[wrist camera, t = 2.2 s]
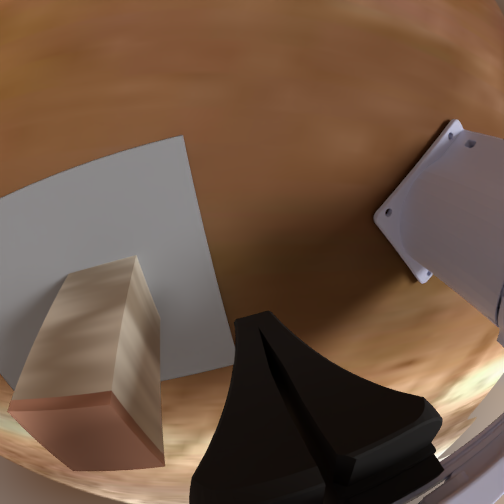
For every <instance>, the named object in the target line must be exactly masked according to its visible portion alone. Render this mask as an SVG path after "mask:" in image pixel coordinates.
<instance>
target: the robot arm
mask: <svg viewBox="0 0 504 504" xmlns="http://www.w3.org/2000/svg"><path fill="white" fill-rule="evenodd" d="M448 134H449V137H448ZM387 209H388V213H387V214H386V215H385V212H386V210H387ZM374 222H375V224H376V225H377V226H378V228H379V229H380V230H381V231H382V233H383V234H384V235H385V236H386V238H387V239H388V240H389V242H390V243H391V244H392V246H393V247H394V248H395V250H396V251H397V252H398V254H399V255H400V256H401V258H402V259H403V260H404V262H405V263H406V264H407V266H408V267H409V269H410V270H411V271H412V273H413V274H414V276H415V277H416V278H417V280H418V281H419V282H420V283H422V284H423V283H425V282H427V281H428V279H429V278H430V277H431V276H432V275H435V276H436V277H437V278H439V279H440V280H441V281H443V282H444V283H445V284H446V285H448V286H449V287H450V288H451V289H453V290H454V291H455V292H456V293H458V294H459V295H460V296H461V297H463V298H464V299H465V300H466V301H468V302H469V303H470V304H471V305H472V306H474V307H475V308H476V309H477V310H478V311H480V312H481V313H482V314H483V315H484V316H486V317H487V318H488V319H489V320H490V321H491V322H492V323H494V324H495V325H496V326H497V327H499V329H500V332H499V335H498V338H497V341H498V342H499V343H500V344H501V345H502V346H503V347H504V139H501V138H497V137H493V136H489V135H485V134H481V133H477V132H472V131H468V130H464V129H463V127H462V125H461V123H460V122H459V120H456V119H452V120H451V121H450V122H449V124H448V125H447V126H446V127H445V129H444V130H443V131H442V133H441V134H440V135H439V137H438V138H437V139H436V140H435V142H434V143H433V144H432V145H431V147H430V148H429V149H428V150H427V152H426V153H425V154H424V155H423V157H422V158H421V159H420V160H419V162H418V163H417V164H416V165H415V166H414V168H413V169H412V170H411V171H410V172H409V174H408V175H407V176H406V177H405V178H404V180H403V181H402V182H401V183H400V184H399V186H398V187H397V188H396V189H395V190H394V191H393V193H392V194H391V195H390V196H389V197H388V198H387V200H386V201H385V202H384V203H383V204H382V205H381V207H380V208H379V209H378V210H377V211H376V213H375V214H374ZM234 325H235V333H236V344H235V357H234V365H233V371H232V377H231V382H230V387H229V391H228V395H227V399H226V402H225V406H224V409H223V412H222V415H221V418H220V421H219V423H218V426H217V429H216V431H215V433H214V435H213V438H212V440H211V442H210V444H209V447H208V449H207V451H206V453H205V455H204V457H203V458H202V460H201V462H200V464H199V466H198V467H197V469H196V471H195V473H194V474H193V476H192V480H191V486H190V495H189V504H406V503H408V502H410V501H412V500H413V499H415V498H417V497H419V496H420V495H422V494H424V493H425V492H427V491H428V490H430V489H431V488H433V487H435V486H436V485H438V484H439V483H440V482H442V481H444V480H445V479H446V480H445V482H444V484H442V485H441V486H439V487H438V488H437V489H435V490H434V491H432V492H431V493H429V494H428V495H426V496H425V497H424V498H423V499H422V500H421V501H420V502H419V503H418V504H494V503H495V502H496V501H497V500H498V499H499V498H500V497H501V496H502V495H503V494H504V413H503V414H502V415H500V416H499V417H498V418H497V419H496V420H495V421H494V422H492V423H491V424H490V425H489V426H488V427H487V428H485V429H484V430H483V431H482V432H480V433H479V434H478V435H477V436H475V437H474V438H473V439H472V440H470V441H469V442H468V443H466V444H465V445H464V446H462V447H461V448H459V449H458V450H457V451H455V452H454V453H452V454H451V455H450V456H448V457H447V458H445V459H444V460H442V461H441V462H439V461H438V459H437V458H436V456H435V455H434V453H435V452H436V449H435V447H434V446H433V444H432V443H431V442H432V440H433V439H434V437H435V436H436V434H437V433H438V431H439V430H440V428H441V425H442V417H441V416H440V415H439V413H438V412H437V411H436V409H435V408H434V407H433V406H432V405H431V404H430V403H429V402H428V401H427V400H426V399H425V398H424V397H420V396H416V395H412V394H407V393H403V392H399V391H396V390H392V389H389V388H386V387H383V386H381V385H378V384H376V383H373V382H371V381H368V380H366V379H364V378H361V377H359V376H357V375H355V374H353V373H351V372H349V371H347V370H345V369H343V368H341V367H340V366H338V365H336V364H334V363H333V362H331V361H329V360H328V359H326V358H325V357H323V356H322V355H320V354H319V353H317V352H316V351H315V350H313V349H312V348H311V347H309V346H308V345H307V344H305V343H304V342H303V341H302V340H300V339H299V338H298V337H297V336H296V335H294V334H293V333H292V332H291V331H290V330H289V329H288V328H287V327H286V326H284V325H283V324H282V323H281V322H280V321H279V320H278V319H277V317H276V316H275V315H274V314H273V313H272V312H270V311H265V312H261V313H258V314H254V315H251V316H247V317H243V318H239V319H236V320H235V322H234Z"/></svg>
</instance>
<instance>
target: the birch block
mask: <svg viewBox="0 0 504 504" xmlns="http://www.w3.org/2000/svg"><path fill="white" fill-rule="evenodd" d="M160 320H161V318H160V316H159V313H158V311H157V308H156V306H155V303H154V301H153V298H152V296H151V293H150V291H149V288H148V285H147V283H146V280H145V277H144V275H143V272H142V269H141V267H140V264H139V261H138V258H137V255H135V256H131V257H127V258H124V259H120V260H116V261H112V262H109V263H105V264H101V265H98V266H94V267H91V268H87V269H83V270H80V271H76V272H73V273H69V274H68V276H67V278H66V279H65V281H64V283H63V285H62V287H61V289H60V290H59V292H58V294H57V296H56V298H55V300H54V302H53V304H52V306H51V308H50V310H49V312H48V314H47V316H46V318H45V320H44V322H43V324H42V326H41V328H40V330H39V332H38V335H37V337H36V339H35V341H34V344H33V346H32V348H31V350H30V353H29V355H28V357H27V360H26V362H25V365H24V367H23V370H22V372H21V375H20V377H19V380H18V383H17V385H16V388H15V391H14V393H13V396H12V399H11V402H10V405H9V408H8V411H7V412H8V413H9V414H10V415H11V416H12V417H13V418H14V419H15V420H16V421H17V422H18V423H19V424H20V425H21V426H22V427H23V428H24V429H25V430H26V431H27V432H28V433H29V434H30V435H31V436H32V437H33V438H35V439H36V440H37V441H38V442H39V443H40V444H41V445H42V446H43V447H45V448H46V449H47V450H48V451H49V452H50V453H51V454H53V455H54V456H55V457H56V458H57V459H59V460H60V461H61V462H62V463H64V464H65V465H66V466H67V467H69V468H70V469H71V470H73V471H116V470H133V469H145V468H155V467H164V466H165V460H164V447H163V432H162V414H161V385H160Z"/></svg>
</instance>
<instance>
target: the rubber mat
mask: <svg viewBox="0 0 504 504" xmlns="http://www.w3.org/2000/svg"><path fill="white" fill-rule="evenodd" d="M135 255H137V258H138V261H139V264H140V267H141V269H142V272H143V275H144V277H145V280H146V283H147V285H148V288H149V291H150V293H151V296H152V298H153V301H154V303H155V306H156V308H157V311H158V313H159V316H160V318H161V320H160V381H164V380H169V379H174V378H178V377H183V376H188V375H192V374H197V373H201V372H205V371H210V370H214V369H218V368H222V367H226V366H230V365H234V357H235V346H234V343H233V339H232V336H231V332H230V328H229V325H228V321H227V317H226V314H225V310H224V306H223V302H222V299H221V295H220V291H219V287H218V283H217V280H216V276H215V272H214V268H213V264H212V260H211V256H210V252H209V248H208V244H207V240H206V236H205V232H204V227H203V223H202V219H201V215H200V211H199V206H198V202H197V198H196V193H195V189H194V184H193V180H192V175H191V171H190V166H189V162H188V157H187V153H186V148H185V143H184V138H183V135H180V136H176V137H172V138H168V139H164V140H160V141H156V142H153V143H149V144H145V145H142V146H138V147H135V148H131V149H128V150H125V151H121V152H118V153H115V154H112V155H109V156H105V157H102V158H99V159H96V160H93V161H90V162H88V163H85V164H82V165H79V166H76V167H74V168H71V169H68V170H65V171H63V172H60V173H58V174H55V175H52V176H50V177H47V178H45V179H43V180H40V181H38V182H35V183H33V184H31V185H28V186H26V187H24V188H21V189H19V190H17V191H15V192H13V193H10V194H8V195H6V196H4V197H2V198H0V374H1V375H2V376H3V378H4V379H5V380H6V382H7V383H8V384H9V385H10V386H11V388H12V389H13V390H14V391H15V388H16V385H17V383H18V380H19V377H20V375H21V372H22V370H23V367H24V365H25V362H26V360H27V357H28V355H29V353H30V350H31V348H32V346H33V344H34V341H35V339H36V337H37V335H38V332H39V330H40V328H41V326H42V324H43V322H44V320H45V318H46V316H47V314H48V312H49V310H50V308H51V306H52V304H53V302H54V300H55V298H56V296H57V294H58V292H59V290H60V289H61V287H62V285H63V283H64V281H65V279H66V278H67V276H68V274H69V273H73V272H76V271H80V270H83V269H87V268H91V267H94V266H98V265H101V264H105V263H109V262H112V261H116V260H120V259H124V258H127V257H131V256H135Z"/></svg>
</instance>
